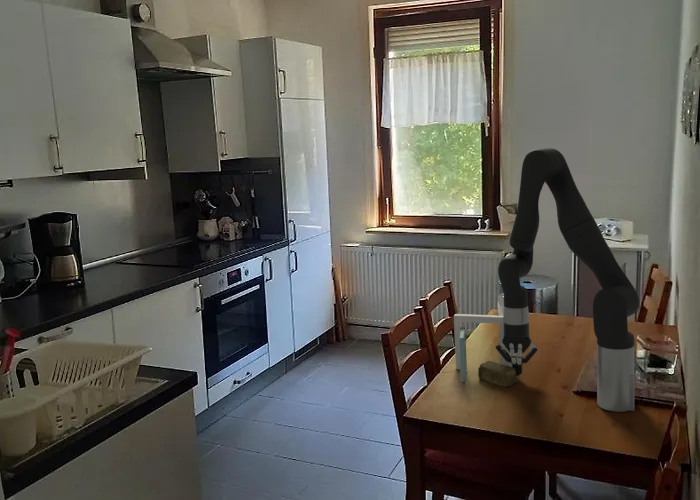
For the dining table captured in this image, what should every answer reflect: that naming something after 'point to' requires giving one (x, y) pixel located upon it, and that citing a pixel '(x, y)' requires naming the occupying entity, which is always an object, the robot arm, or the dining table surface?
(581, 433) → the dining table surface
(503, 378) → the stone block
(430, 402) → the dining table surface
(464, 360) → the door
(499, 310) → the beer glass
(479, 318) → the door frame
